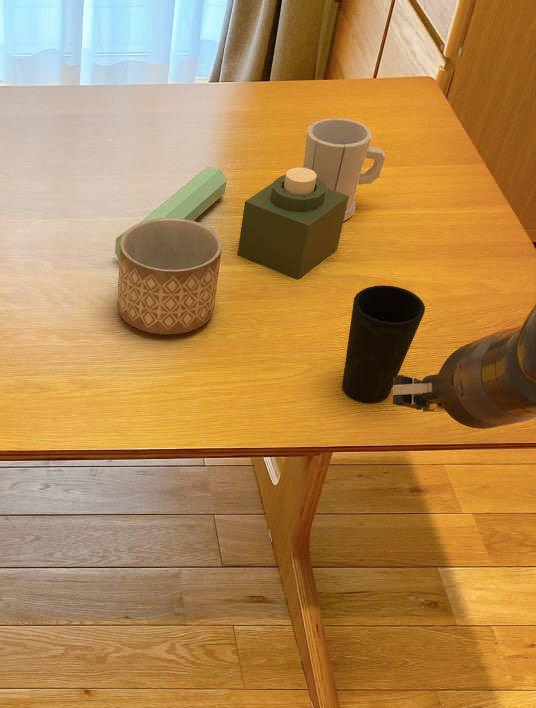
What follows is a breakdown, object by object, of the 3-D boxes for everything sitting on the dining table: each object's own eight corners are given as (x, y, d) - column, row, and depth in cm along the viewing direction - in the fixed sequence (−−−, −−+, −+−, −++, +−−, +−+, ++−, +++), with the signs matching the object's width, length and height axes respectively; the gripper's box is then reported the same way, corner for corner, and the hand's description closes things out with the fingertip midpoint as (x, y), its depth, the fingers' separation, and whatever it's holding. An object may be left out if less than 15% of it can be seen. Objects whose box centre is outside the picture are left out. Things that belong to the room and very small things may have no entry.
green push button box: (337, 249, 144) (352, 183, 136) (298, 279, 139) (311, 212, 132) (276, 226, 149) (287, 161, 141) (237, 254, 144) (246, 188, 137)
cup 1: (331, 186, 156) (347, 108, 147) (376, 210, 151) (395, 131, 142) (280, 207, 152) (293, 129, 144) (324, 232, 147) (341, 153, 138)
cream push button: (319, 187, 137) (322, 173, 135) (303, 199, 135) (306, 184, 133) (294, 178, 139) (296, 164, 137) (277, 190, 137) (280, 175, 135)
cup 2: (387, 416, 119) (413, 331, 110) (324, 397, 122) (344, 312, 113) (406, 380, 123) (433, 295, 115) (345, 362, 126) (366, 278, 117)
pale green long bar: (210, 152, 152) (123, 222, 139) (241, 175, 152) (157, 248, 138) (192, 182, 157) (108, 253, 144) (222, 205, 157) (140, 279, 143)
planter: (138, 278, 141) (142, 209, 133) (226, 299, 137) (235, 229, 129) (101, 327, 134) (104, 257, 126) (193, 351, 129) (201, 279, 122)
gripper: (589, 332, 82) (500, 362, 100) (421, 332, 83) (362, 362, 101) (586, 425, 82) (497, 439, 100) (418, 424, 84) (360, 438, 101)
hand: (429, 400), depth 100 cm, fingers closed
